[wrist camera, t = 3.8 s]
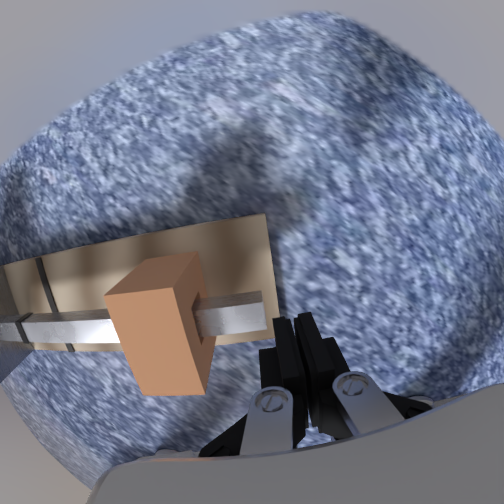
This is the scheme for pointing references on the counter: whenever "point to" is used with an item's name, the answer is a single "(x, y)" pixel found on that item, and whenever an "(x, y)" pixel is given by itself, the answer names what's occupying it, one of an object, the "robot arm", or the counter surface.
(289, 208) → the counter surface
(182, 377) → the tan notched block
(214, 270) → the base board
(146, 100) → the counter surface
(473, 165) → the counter surface
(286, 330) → the robot arm
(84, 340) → the slider rail assembly
